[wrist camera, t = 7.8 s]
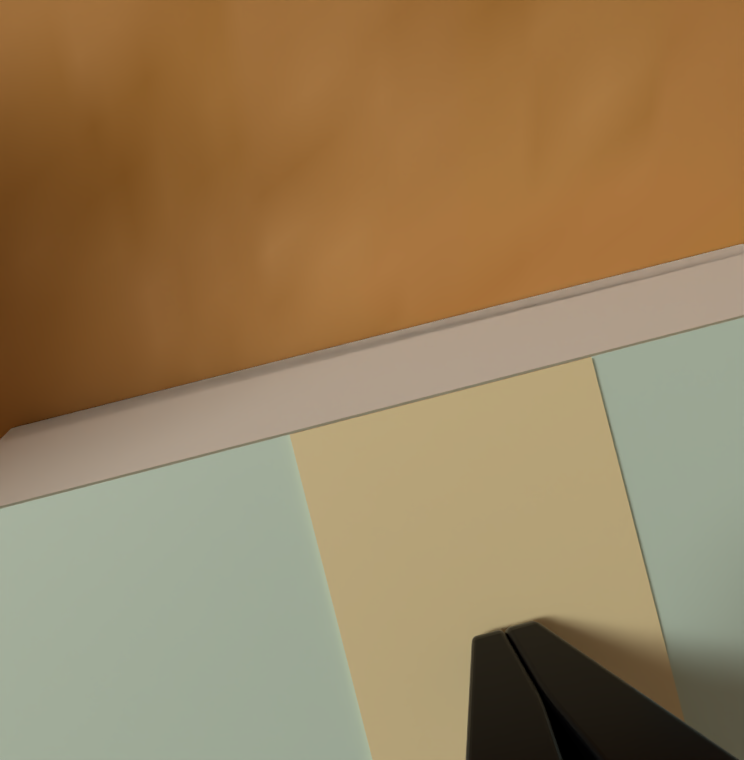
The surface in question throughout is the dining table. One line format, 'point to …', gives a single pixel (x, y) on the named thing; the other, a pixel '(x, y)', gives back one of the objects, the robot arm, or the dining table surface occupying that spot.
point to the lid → (390, 568)
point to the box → (369, 374)
